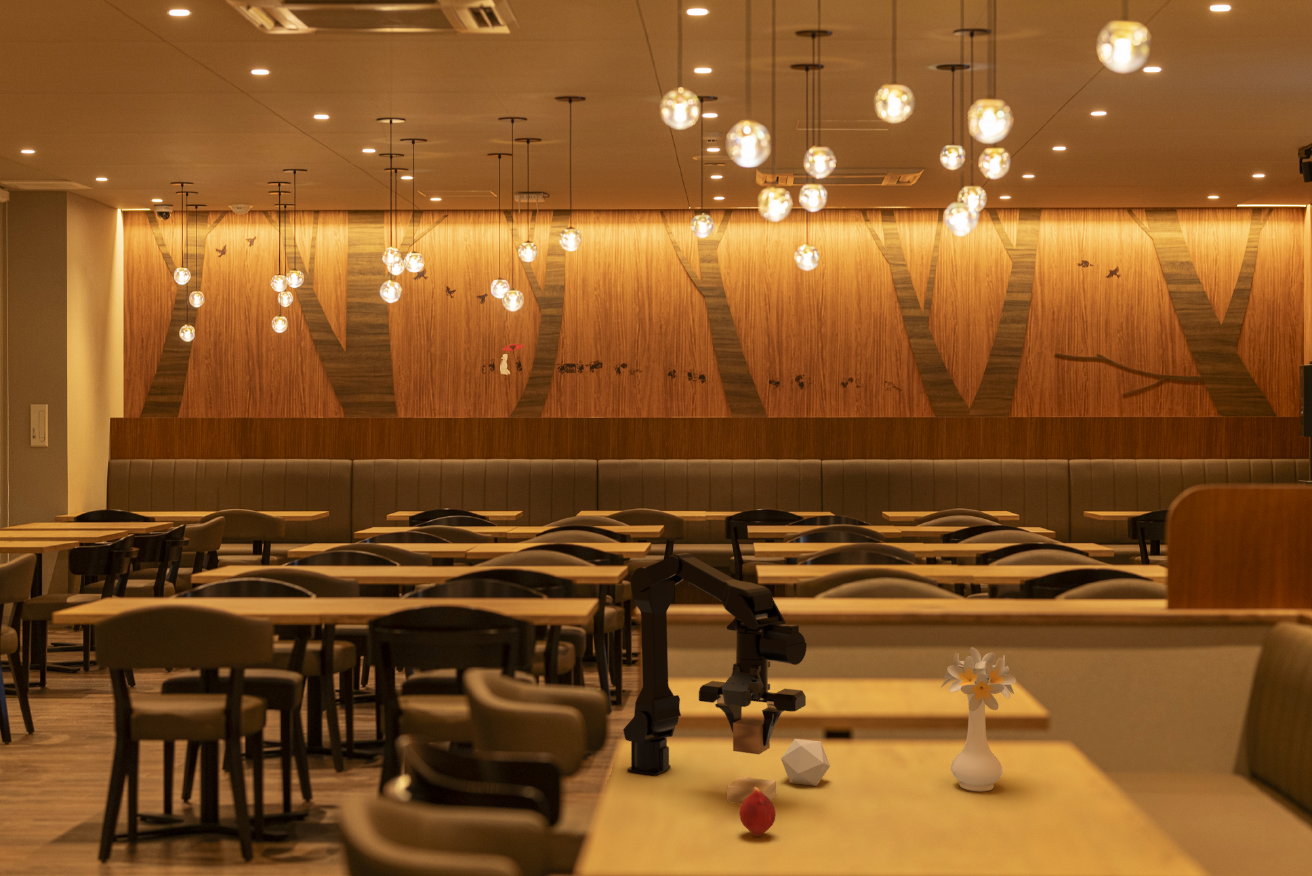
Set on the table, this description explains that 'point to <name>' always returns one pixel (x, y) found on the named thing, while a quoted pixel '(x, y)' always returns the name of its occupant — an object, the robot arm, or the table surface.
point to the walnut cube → (749, 736)
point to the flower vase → (978, 716)
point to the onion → (757, 813)
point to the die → (805, 762)
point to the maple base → (749, 789)
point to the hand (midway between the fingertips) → (751, 743)
